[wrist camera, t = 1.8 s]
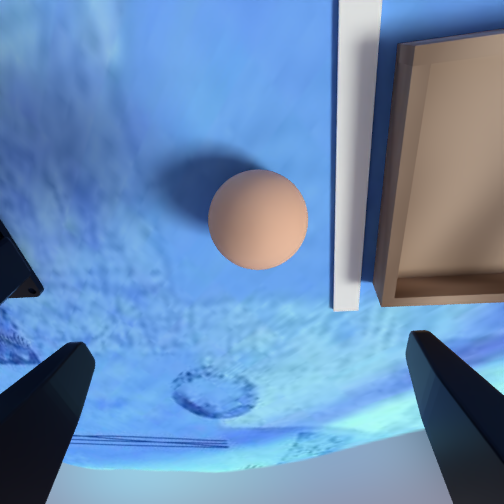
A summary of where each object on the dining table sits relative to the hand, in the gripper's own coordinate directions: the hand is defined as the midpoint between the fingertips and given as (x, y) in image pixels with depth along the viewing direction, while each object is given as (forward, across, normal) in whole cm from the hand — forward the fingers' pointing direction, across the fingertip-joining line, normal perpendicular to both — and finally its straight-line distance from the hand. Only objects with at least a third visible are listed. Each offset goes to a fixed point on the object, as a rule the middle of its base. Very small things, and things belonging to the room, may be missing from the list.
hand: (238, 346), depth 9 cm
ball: (+9, 0, 0) cm, 9 cm away
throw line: (+9, -5, 0) cm, 10 cm away
